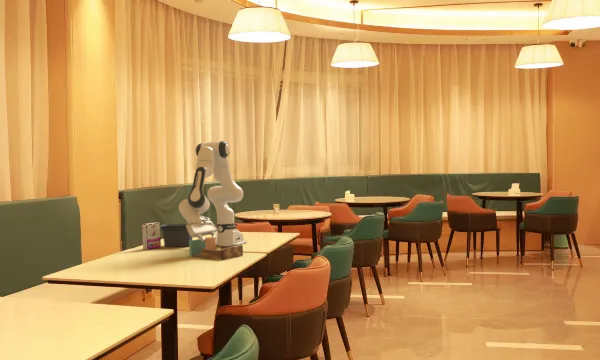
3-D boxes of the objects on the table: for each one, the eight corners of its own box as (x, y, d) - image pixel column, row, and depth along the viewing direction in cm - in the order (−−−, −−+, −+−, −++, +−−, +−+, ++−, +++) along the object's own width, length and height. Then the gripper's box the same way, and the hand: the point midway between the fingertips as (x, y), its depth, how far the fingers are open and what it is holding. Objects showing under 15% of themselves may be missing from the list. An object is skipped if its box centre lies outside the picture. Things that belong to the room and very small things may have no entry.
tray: (209, 252, 394) (208, 237, 394) (229, 254, 385) (229, 239, 385) (189, 256, 380) (189, 240, 380) (210, 258, 371) (210, 242, 371)
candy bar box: (156, 247, 423) (155, 222, 423) (161, 247, 420) (160, 222, 420) (142, 249, 414) (141, 223, 414) (147, 250, 411) (146, 224, 411)
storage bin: (159, 247, 422) (158, 225, 422) (166, 244, 437) (165, 223, 437) (191, 247, 420) (190, 225, 419) (197, 244, 435) (196, 222, 435)
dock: (222, 253, 389) (221, 243, 389) (242, 255, 380) (242, 245, 380) (201, 257, 374) (201, 247, 374) (222, 259, 365) (222, 249, 365)
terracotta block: (210, 252, 385) (210, 237, 385) (215, 252, 383) (215, 237, 383) (205, 253, 381) (205, 237, 381) (210, 253, 379) (210, 238, 379)
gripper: (187, 220, 378) (200, 238, 373) (210, 217, 395) (223, 234, 390) (181, 228, 380) (194, 245, 375) (205, 224, 397) (218, 241, 392)
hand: (209, 239), depth 383 cm, fingers open, 8 cm apart
